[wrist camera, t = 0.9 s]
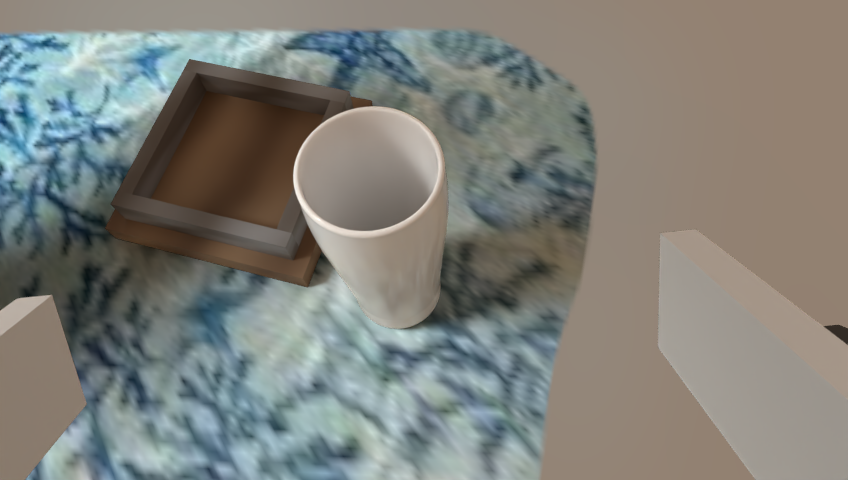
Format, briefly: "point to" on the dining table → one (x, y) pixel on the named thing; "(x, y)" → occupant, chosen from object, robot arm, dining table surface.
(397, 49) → the dining table surface
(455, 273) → the dining table surface
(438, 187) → the white cup
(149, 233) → the collar board
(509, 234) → the dining table surface
